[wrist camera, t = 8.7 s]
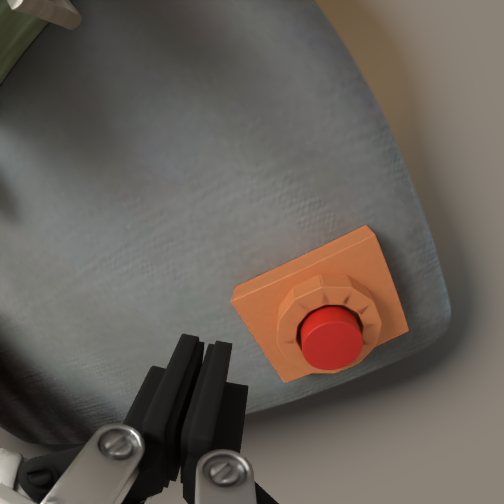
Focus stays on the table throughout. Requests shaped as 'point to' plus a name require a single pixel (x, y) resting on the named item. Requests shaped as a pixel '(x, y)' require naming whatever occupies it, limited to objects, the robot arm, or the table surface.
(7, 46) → the door
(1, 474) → the robot arm
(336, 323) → the button
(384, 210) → the table surface
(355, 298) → the button block
